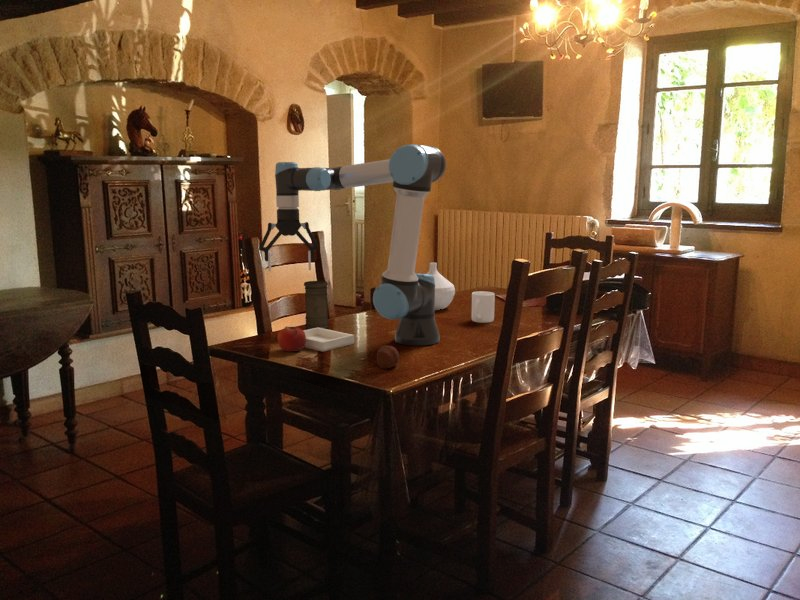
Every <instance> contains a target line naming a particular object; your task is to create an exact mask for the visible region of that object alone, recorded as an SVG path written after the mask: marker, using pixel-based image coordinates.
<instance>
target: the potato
mask: <svg viewBox="0 0 800 600" xmlns="http://www.w3.org/2000/svg"><path fill="white" fill-rule="evenodd" d="M399 361H400V354H399V351H398V350H397V348H396V347H395V346H392V345H387V344H386V345H382V346H381V347H380V348H379V349H378V350H377V353H376V363H377V365H378V366H379V367H380V368H382V369H391V368H392V367H395V366H397V365H398V363H399Z"/></svg>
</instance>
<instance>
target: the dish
mask: <svg viewBox="0 0 800 600" xmlns="http://www.w3.org/2000/svg"><path fill="white" fill-rule="evenodd" d="M303 331H304V332H305V335H306V343H305V346H304V347H303V348H305V349H310V350H315V351H319V352H328V351H333V350H336V349H339V348H343V347H348V346H351V345H355V334H352V333H345V332H342V331H338V330H332V329H330V330H328V329H323V328H319V327H317V328H313V329H308V330H305V329H304V330H303Z"/></svg>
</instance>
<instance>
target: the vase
mask: <svg viewBox="0 0 800 600" xmlns="http://www.w3.org/2000/svg"><path fill="white" fill-rule="evenodd" d="M437 263H438V262H429V269H428V271H427V272H426V274H430V275H433V276H434V279H435V311H440V309H441V310H444V309H446V308H447V307H448V306H450V304H451V303H452V302H453V300H454V297H455V295H456V289H455V285H454V284H453V283H452V282H450V281H449V280H448V278H446V277H444V276H443V275H442V274H441V273H440V272H439V271H438V268H437V265H438V264H437Z"/></svg>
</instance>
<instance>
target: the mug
mask: <svg viewBox="0 0 800 600" xmlns="http://www.w3.org/2000/svg"><path fill="white" fill-rule="evenodd" d="M495 297H496V295H495V292H491V291H481V290H480V291H473V292H472V293H471V321H472V322H475V323H480V324H488V323H492V322H494V320H495Z"/></svg>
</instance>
